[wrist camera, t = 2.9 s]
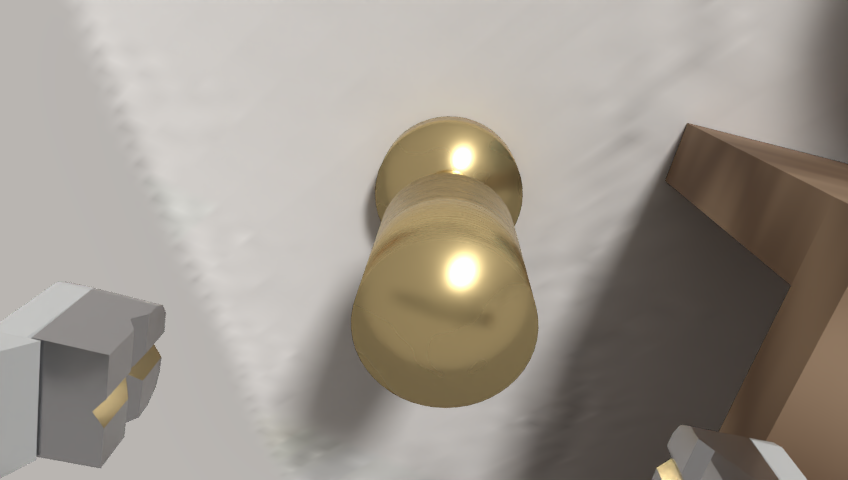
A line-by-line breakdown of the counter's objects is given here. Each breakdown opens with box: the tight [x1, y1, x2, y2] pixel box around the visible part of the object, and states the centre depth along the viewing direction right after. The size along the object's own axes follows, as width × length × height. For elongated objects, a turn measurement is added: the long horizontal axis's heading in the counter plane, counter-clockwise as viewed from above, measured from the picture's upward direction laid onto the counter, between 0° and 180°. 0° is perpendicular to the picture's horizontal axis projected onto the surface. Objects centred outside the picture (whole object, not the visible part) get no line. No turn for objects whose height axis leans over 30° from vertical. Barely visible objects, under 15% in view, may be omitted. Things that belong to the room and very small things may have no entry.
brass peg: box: [351, 116, 538, 408], centre depth 17 cm, size 5×5×10 cm
